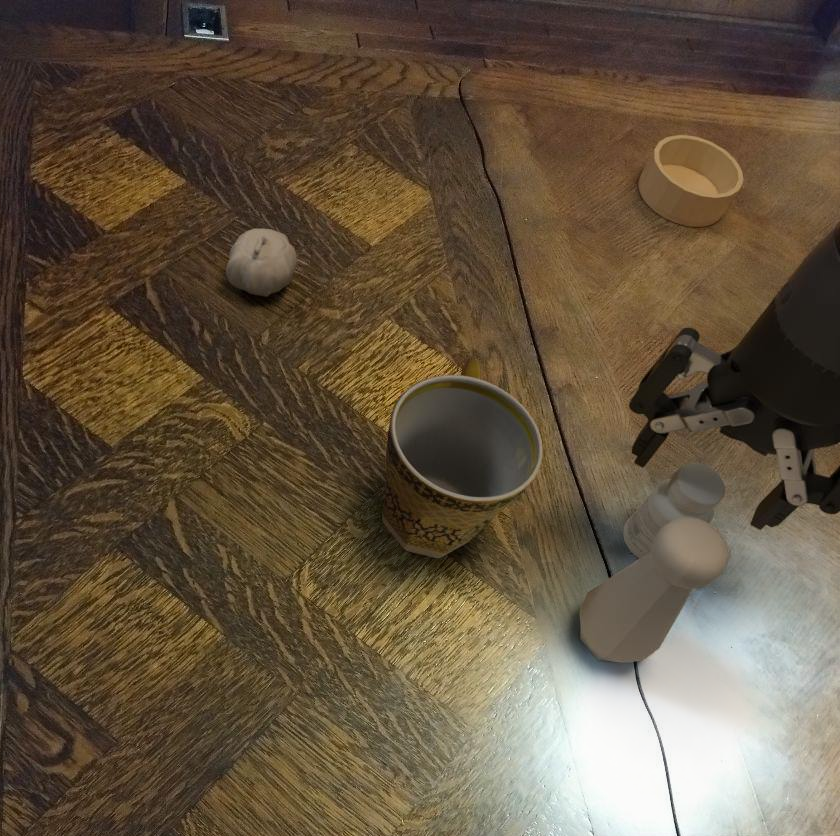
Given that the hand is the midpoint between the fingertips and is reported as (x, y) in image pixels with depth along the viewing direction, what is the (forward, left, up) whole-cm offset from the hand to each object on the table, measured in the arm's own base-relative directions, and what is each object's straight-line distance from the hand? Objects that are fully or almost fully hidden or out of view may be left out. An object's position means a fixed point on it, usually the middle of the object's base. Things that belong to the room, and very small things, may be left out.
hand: (699, 487), depth 67 cm
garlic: (+25, -27, -7) cm, 38 cm away
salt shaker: (+6, +7, -7) cm, 12 cm away
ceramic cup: (+16, -5, -7) cm, 18 cm away
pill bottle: (0, 0, -7) cm, 7 cm away
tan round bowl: (-18, -37, -7) cm, 42 cm away
